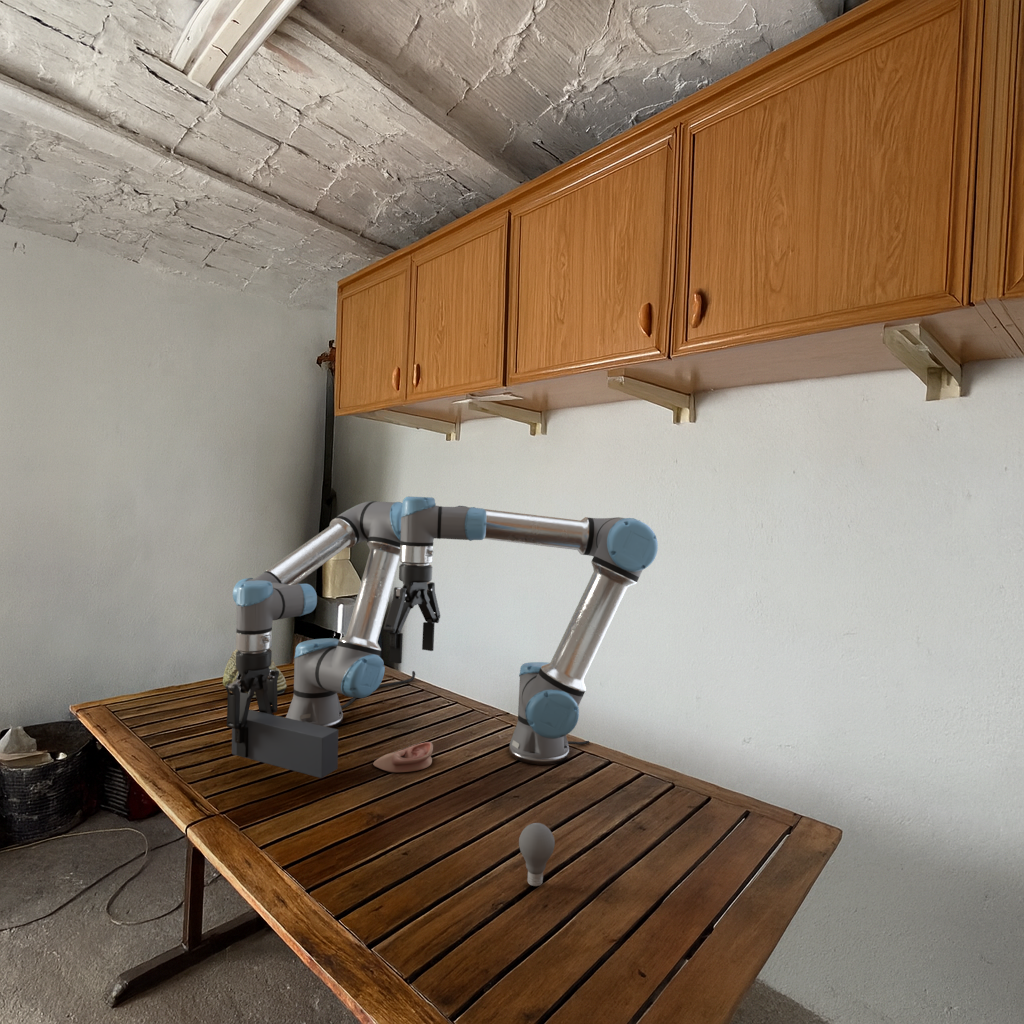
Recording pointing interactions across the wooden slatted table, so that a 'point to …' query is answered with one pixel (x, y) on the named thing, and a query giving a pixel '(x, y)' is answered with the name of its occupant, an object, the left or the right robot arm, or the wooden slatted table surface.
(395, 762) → the anatomical model
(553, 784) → the wooden slatted table surface
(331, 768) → the bar
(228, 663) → the fossil
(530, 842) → the light bulb
